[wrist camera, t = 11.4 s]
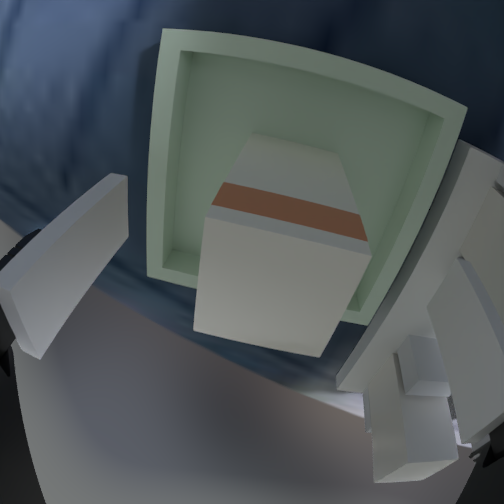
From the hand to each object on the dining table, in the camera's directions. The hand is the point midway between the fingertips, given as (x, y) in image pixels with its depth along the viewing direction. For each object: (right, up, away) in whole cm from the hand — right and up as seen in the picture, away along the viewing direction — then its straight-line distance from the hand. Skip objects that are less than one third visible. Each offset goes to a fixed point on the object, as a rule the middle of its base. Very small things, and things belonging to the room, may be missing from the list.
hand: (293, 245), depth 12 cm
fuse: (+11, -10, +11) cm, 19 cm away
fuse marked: (0, +3, +5) cm, 6 cm away
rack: (+12, -4, +9) cm, 15 cm away
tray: (+1, +4, +5) cm, 7 cm away
